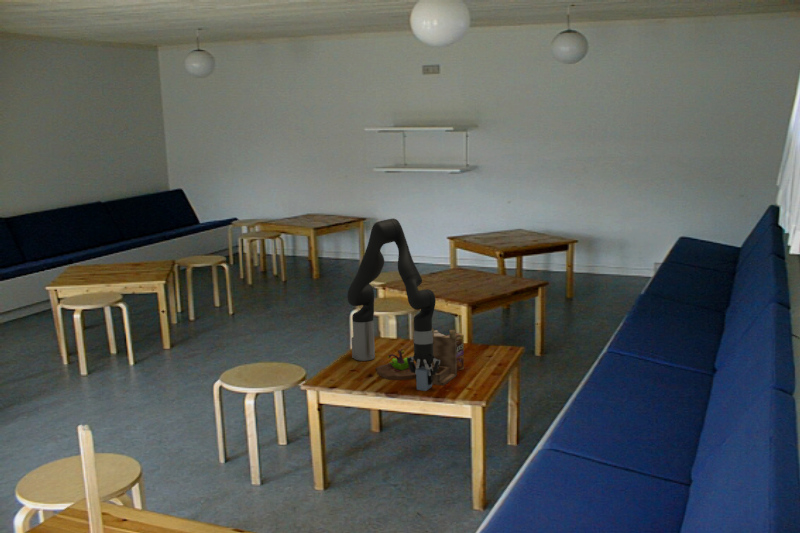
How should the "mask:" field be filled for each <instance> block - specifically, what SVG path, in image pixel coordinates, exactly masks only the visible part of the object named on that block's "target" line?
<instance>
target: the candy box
mask: <svg viewBox="0 0 800 533" xmlns="http://www.w3.org/2000/svg"><path fill="white" fill-rule="evenodd" d="M455 334H456V357H457V372H458V371H461V370H465V369H464V368H465V364H464V360H465V359H464V358H465V356H464V354H465V353H464V352H465V351H464V348H465V346H464V344H465V343H464V340H465V338H464V334H463V333H459V332H457V333H456V332H455ZM445 337H450V334H446V335H445Z"/></svg>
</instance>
